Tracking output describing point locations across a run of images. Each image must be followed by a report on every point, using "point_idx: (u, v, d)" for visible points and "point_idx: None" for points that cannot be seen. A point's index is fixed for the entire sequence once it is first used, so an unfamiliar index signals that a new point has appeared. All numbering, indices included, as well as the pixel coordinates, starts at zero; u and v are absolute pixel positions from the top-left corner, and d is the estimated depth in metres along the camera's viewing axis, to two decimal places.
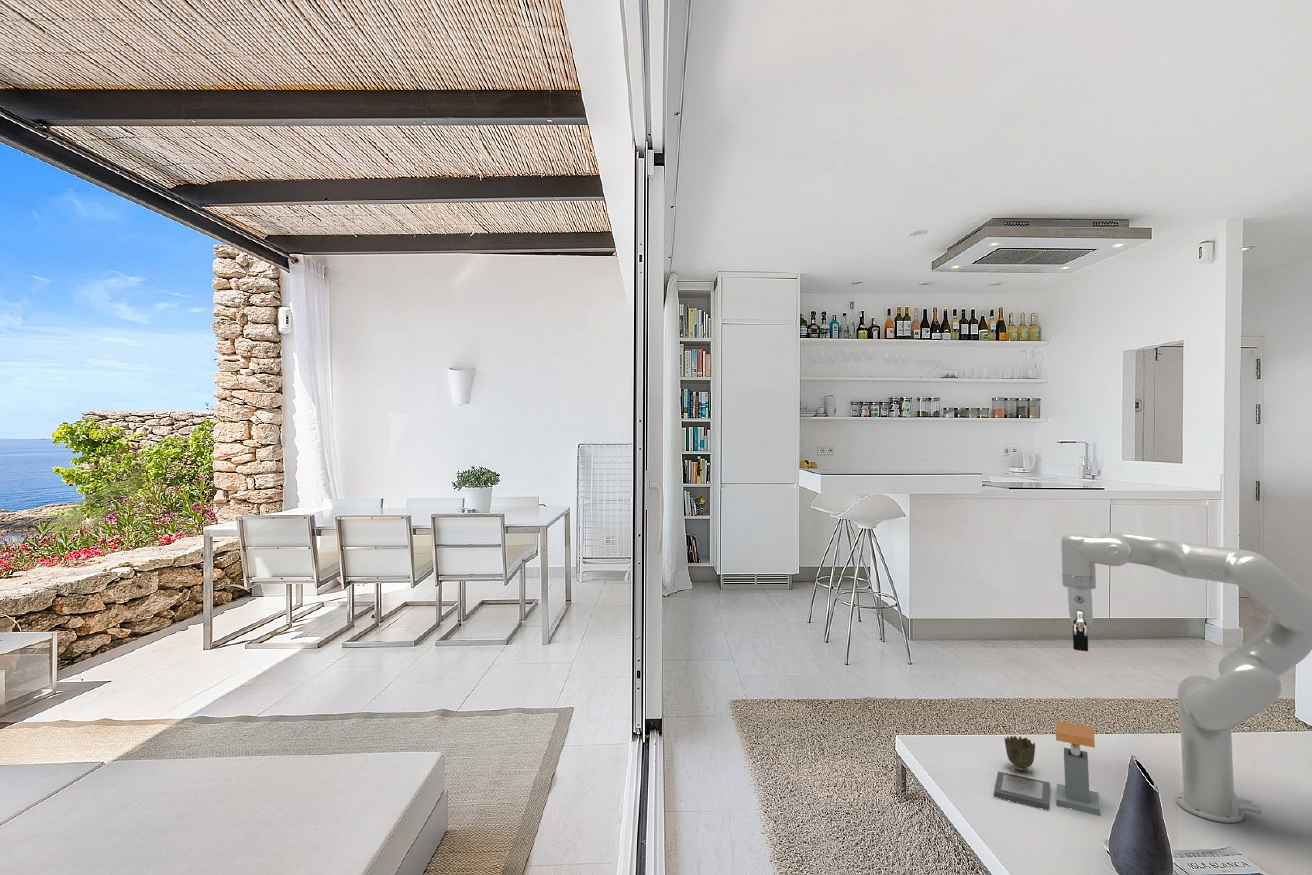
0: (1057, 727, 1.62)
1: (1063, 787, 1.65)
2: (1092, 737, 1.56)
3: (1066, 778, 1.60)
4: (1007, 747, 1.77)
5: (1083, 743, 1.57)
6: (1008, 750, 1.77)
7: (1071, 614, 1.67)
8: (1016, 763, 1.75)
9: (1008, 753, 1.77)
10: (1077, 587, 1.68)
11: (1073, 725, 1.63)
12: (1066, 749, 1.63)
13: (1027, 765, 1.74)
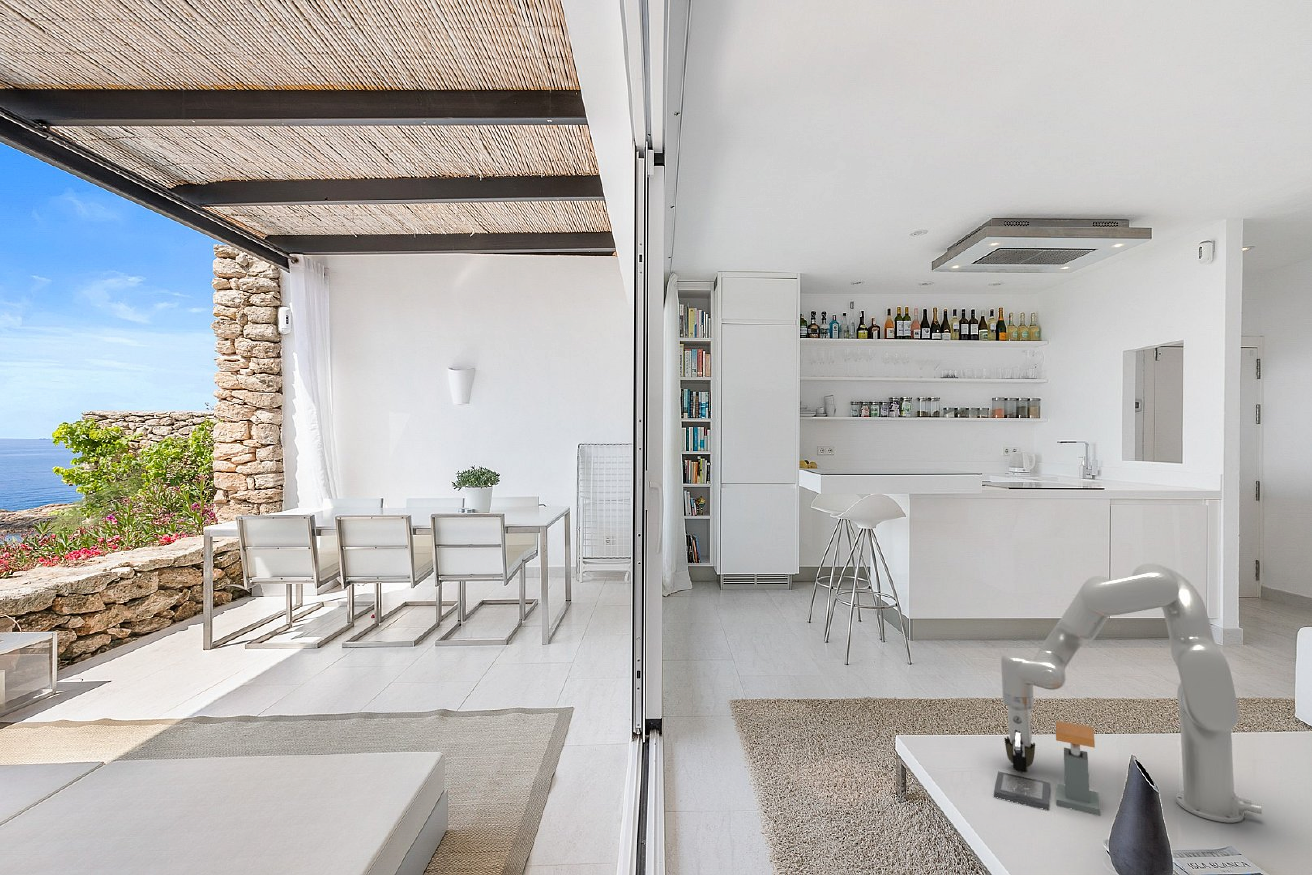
0: (1057, 727, 1.62)
1: (1063, 787, 1.65)
2: (1092, 737, 1.56)
3: (1066, 778, 1.60)
4: (1007, 747, 1.77)
5: (1083, 743, 1.57)
6: (1008, 750, 1.77)
7: (1010, 733, 1.74)
8: None
9: (1008, 753, 1.77)
10: (1015, 707, 1.74)
11: (1073, 725, 1.63)
12: (1066, 749, 1.63)
13: (1027, 765, 1.74)
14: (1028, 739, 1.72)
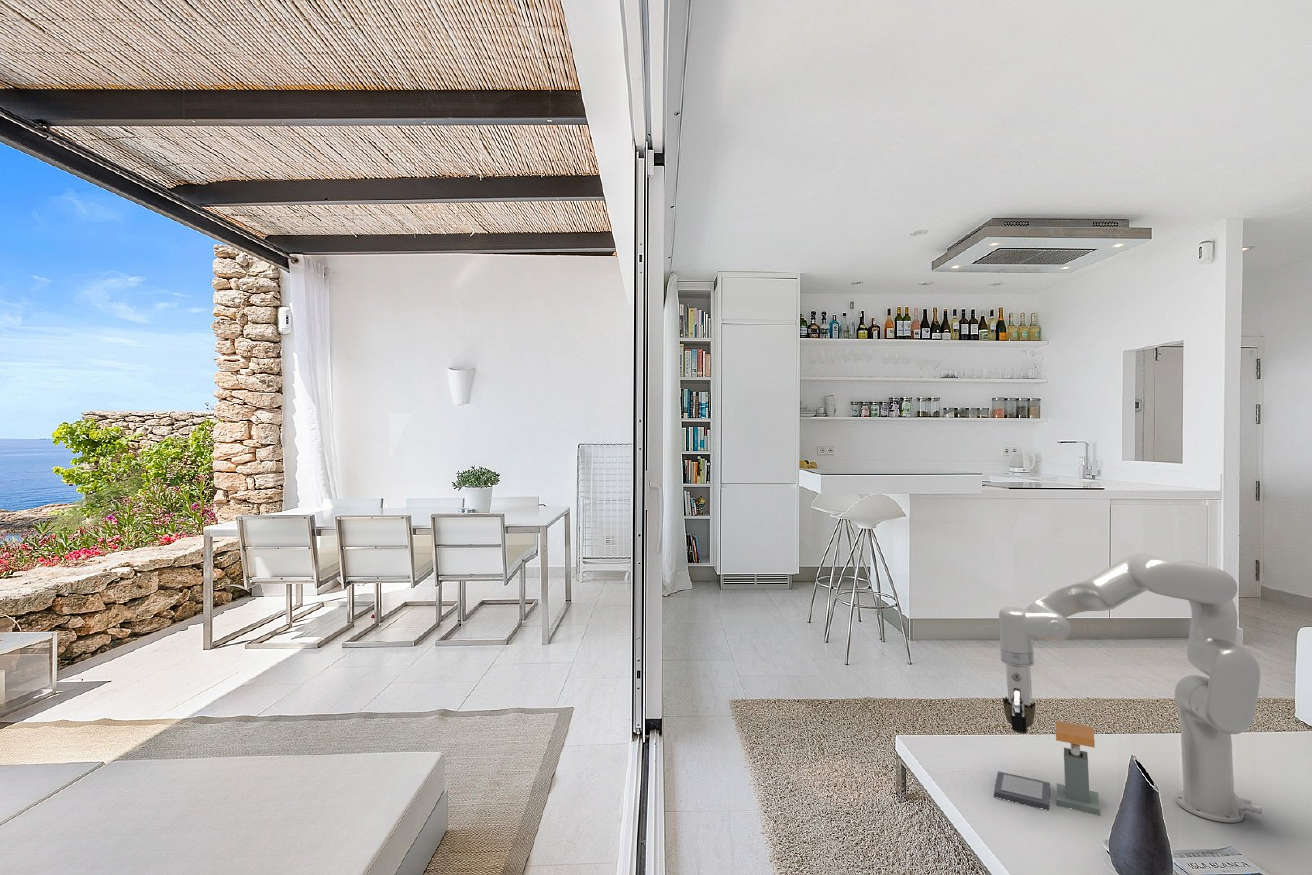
0: (1057, 727, 1.62)
1: (1063, 787, 1.65)
2: (1092, 737, 1.56)
3: (1066, 778, 1.60)
4: (1005, 707, 1.66)
5: (1083, 743, 1.57)
6: (1006, 710, 1.65)
7: (1009, 692, 1.63)
8: None
9: (1006, 714, 1.66)
10: (1014, 664, 1.63)
11: (1073, 725, 1.63)
12: (1066, 749, 1.63)
13: (1027, 726, 1.63)
14: (1028, 697, 1.61)
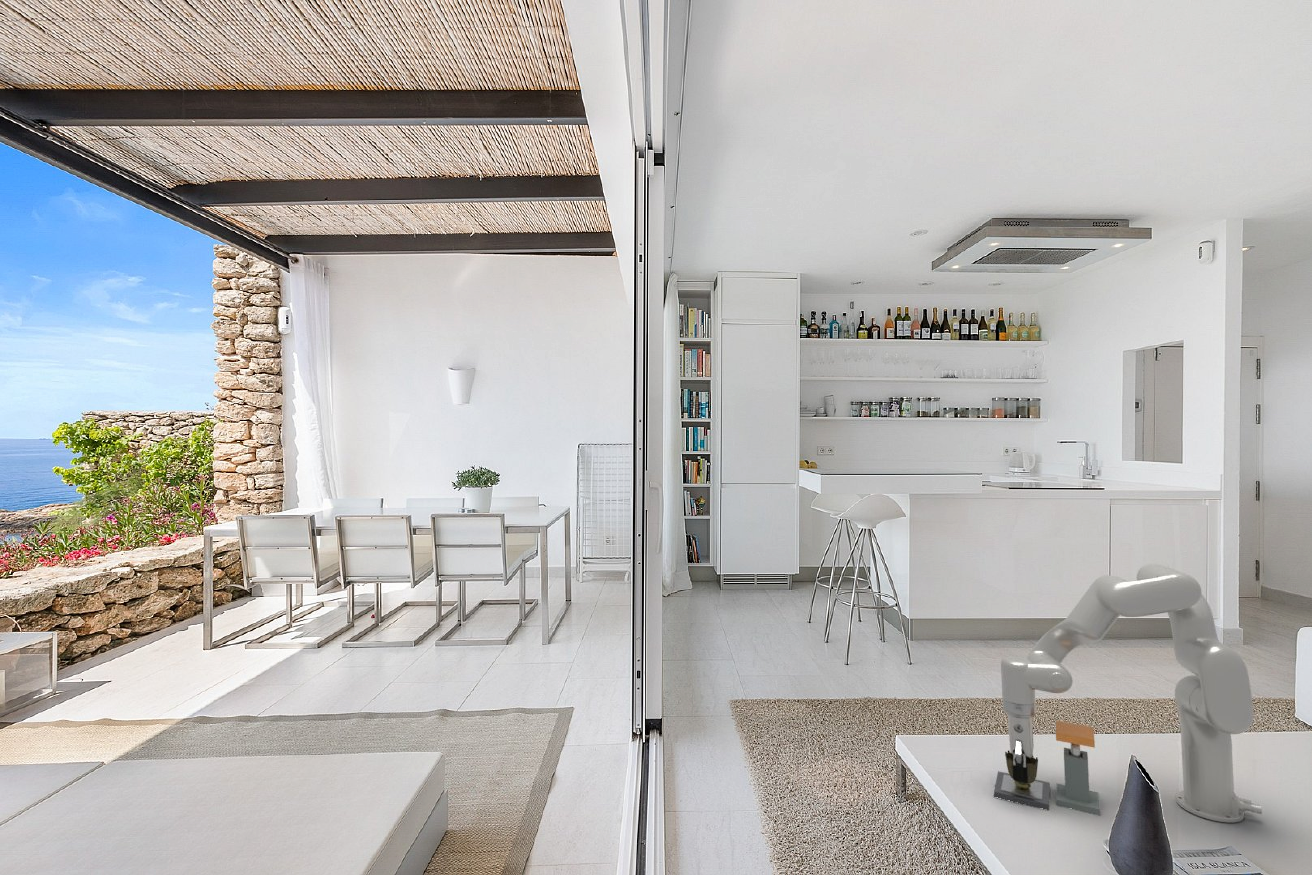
0: (1057, 727, 1.62)
1: (1063, 787, 1.65)
2: (1092, 737, 1.56)
3: (1066, 778, 1.60)
4: (1008, 762, 1.65)
5: (1083, 743, 1.57)
6: (1009, 765, 1.65)
7: (1010, 743, 1.63)
8: None
9: (1009, 768, 1.65)
10: (1016, 715, 1.63)
11: (1073, 725, 1.63)
12: (1066, 749, 1.63)
13: (1029, 782, 1.62)
14: (1030, 749, 1.60)
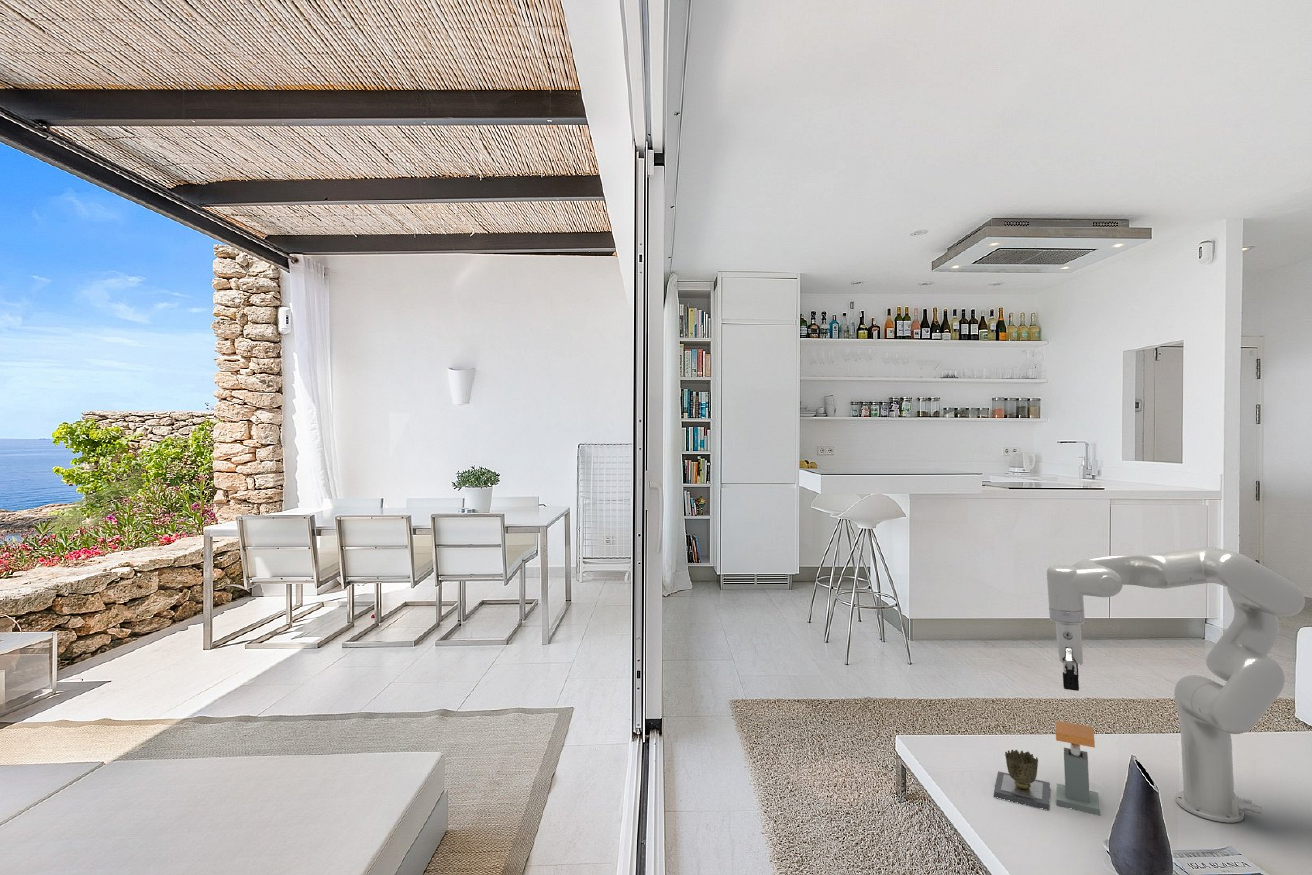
0: (1057, 727, 1.62)
1: (1063, 787, 1.65)
2: (1092, 737, 1.56)
3: (1066, 778, 1.60)
4: (1008, 762, 1.65)
5: (1083, 743, 1.57)
6: (1009, 765, 1.65)
7: (1060, 651, 1.59)
8: (1017, 779, 1.63)
9: (1009, 768, 1.65)
10: (1065, 622, 1.59)
11: (1073, 725, 1.63)
12: (1066, 749, 1.63)
13: (1029, 782, 1.62)
14: (1080, 656, 1.56)
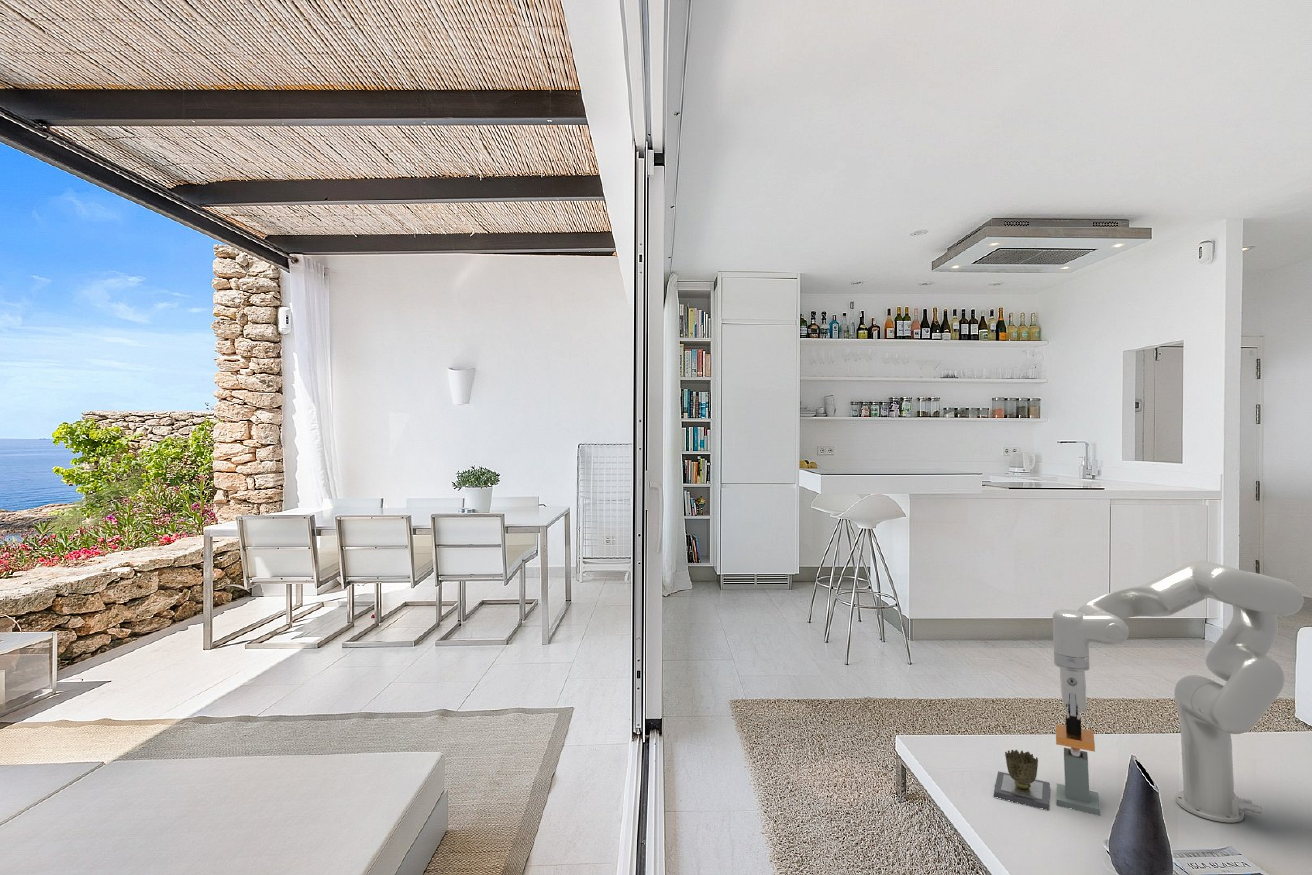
0: (1057, 731, 1.62)
1: (1063, 787, 1.65)
2: (1092, 741, 1.56)
3: (1066, 778, 1.60)
4: (1008, 762, 1.65)
5: (1083, 747, 1.57)
6: (1009, 765, 1.65)
7: (1063, 697, 1.58)
8: (1017, 779, 1.63)
9: (1009, 768, 1.65)
10: (1069, 668, 1.58)
11: None
12: (1066, 749, 1.63)
13: (1029, 782, 1.62)
14: (1084, 703, 1.56)
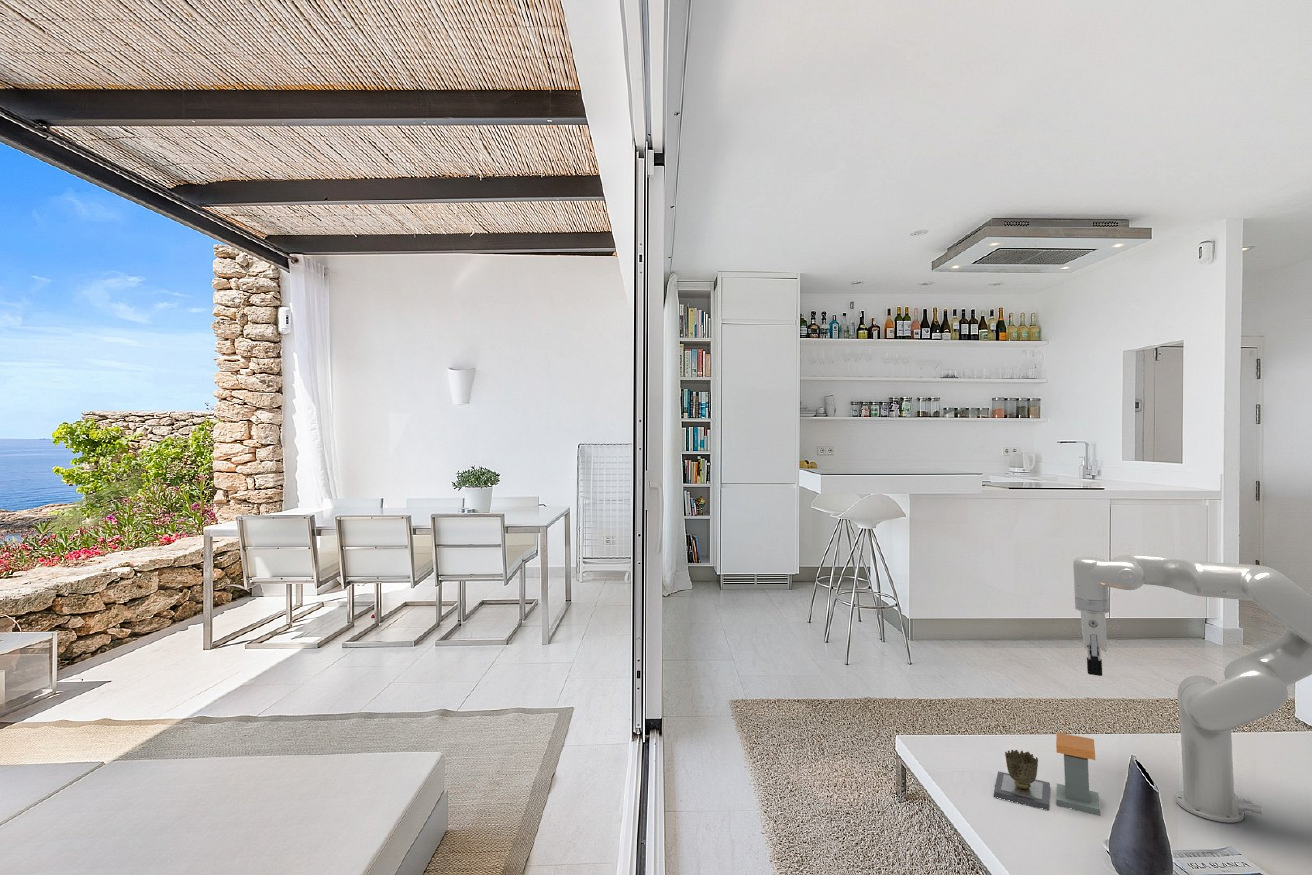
0: (1058, 739, 1.62)
1: (1063, 787, 1.65)
2: (1093, 749, 1.56)
3: (1066, 778, 1.60)
4: (1008, 762, 1.65)
5: (1084, 755, 1.57)
6: (1009, 765, 1.65)
7: (1085, 638, 1.66)
8: (1017, 779, 1.63)
9: (1009, 768, 1.65)
10: (1090, 611, 1.66)
11: (1073, 737, 1.63)
12: None
13: (1029, 782, 1.62)
14: (1105, 643, 1.64)
